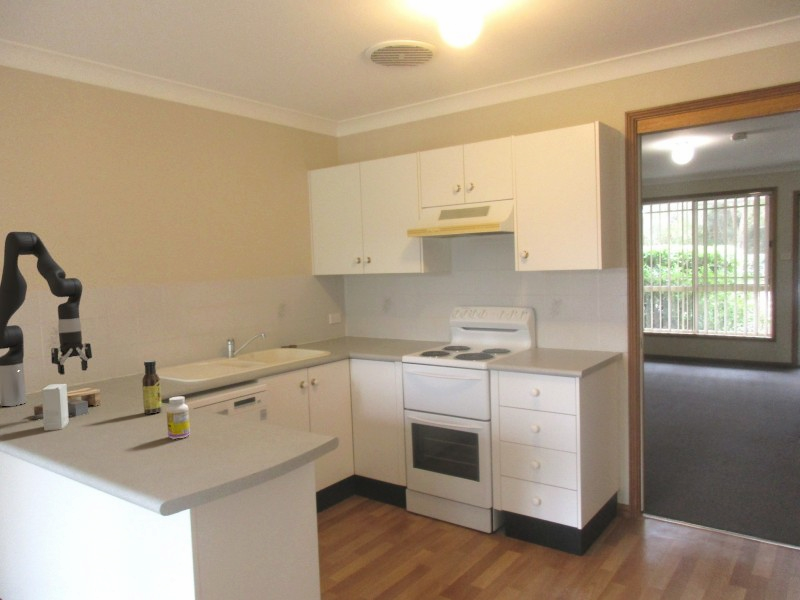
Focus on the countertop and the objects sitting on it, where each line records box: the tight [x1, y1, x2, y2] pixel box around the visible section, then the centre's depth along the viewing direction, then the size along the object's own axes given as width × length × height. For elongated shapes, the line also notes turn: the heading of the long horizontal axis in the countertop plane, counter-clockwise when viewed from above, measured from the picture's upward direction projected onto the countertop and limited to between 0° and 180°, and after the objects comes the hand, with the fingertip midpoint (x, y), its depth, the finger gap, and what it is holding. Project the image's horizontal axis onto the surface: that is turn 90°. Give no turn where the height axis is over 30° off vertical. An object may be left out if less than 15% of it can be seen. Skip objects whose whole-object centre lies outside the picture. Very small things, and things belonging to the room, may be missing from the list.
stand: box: [67, 387, 101, 407], centre depth 238 cm, size 10×12×6 cm
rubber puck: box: [32, 414, 44, 421], centre depth 222 cm, size 4×4×2 cm
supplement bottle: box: [166, 396, 191, 439], centre depth 190 cm, size 7×7×13 cm
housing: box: [68, 399, 89, 417], centre depth 227 cm, size 8×5×5 cm, turn 59°
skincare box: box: [41, 383, 69, 431], centre depth 208 cm, size 8×6×15 cm
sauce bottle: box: [141, 360, 163, 415], centre depth 224 cm, size 6×6×20 cm
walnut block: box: [33, 403, 43, 415], centre depth 227 cm, size 4×4×4 cm
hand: (73, 372), depth 226 cm, fingers open, 8 cm apart
